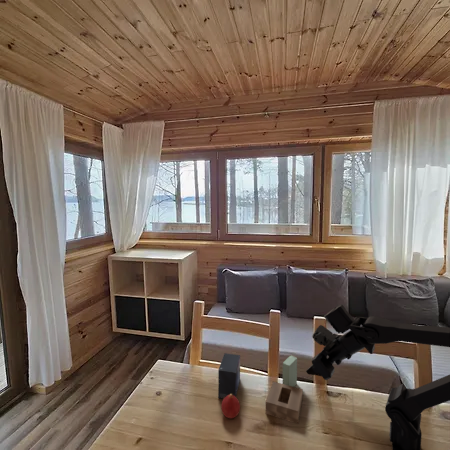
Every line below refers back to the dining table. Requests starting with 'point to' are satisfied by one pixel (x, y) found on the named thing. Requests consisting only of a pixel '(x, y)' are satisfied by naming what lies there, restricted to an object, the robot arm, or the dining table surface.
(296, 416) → the slotted box
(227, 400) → the onion
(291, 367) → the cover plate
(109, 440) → the dining table surface
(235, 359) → the small box
